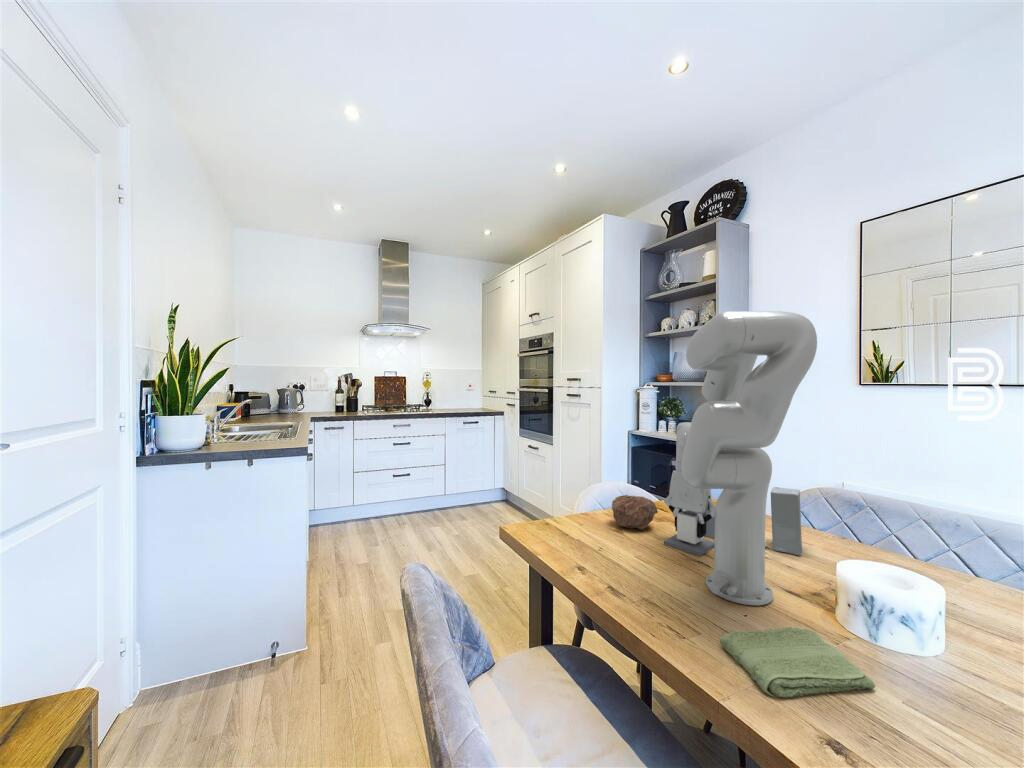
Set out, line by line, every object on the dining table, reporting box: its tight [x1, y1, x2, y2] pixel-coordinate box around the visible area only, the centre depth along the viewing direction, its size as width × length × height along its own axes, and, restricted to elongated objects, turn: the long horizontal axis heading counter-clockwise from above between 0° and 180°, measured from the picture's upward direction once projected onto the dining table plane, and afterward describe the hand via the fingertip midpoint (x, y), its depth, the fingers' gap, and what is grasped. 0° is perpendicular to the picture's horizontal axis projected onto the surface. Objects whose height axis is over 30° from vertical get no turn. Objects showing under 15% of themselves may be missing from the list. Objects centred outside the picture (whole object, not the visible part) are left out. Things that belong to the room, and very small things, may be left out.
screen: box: [704, 510, 715, 540], centre depth 118 cm, size 2×13×8 cm, turn 42°
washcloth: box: [719, 626, 877, 699], centre depth 65 cm, size 13×18×3 cm
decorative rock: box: [611, 494, 659, 531], centre depth 126 cm, size 13×11×10 cm
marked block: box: [676, 510, 704, 544], centre depth 112 cm, size 5×5×7 cm
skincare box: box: [770, 486, 803, 557], centre depth 111 cm, size 8×7×16 cm
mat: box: [663, 533, 715, 557], centre depth 112 cm, size 10×10×1 cm
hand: (690, 532), depth 112 cm, fingers open, 5 cm apart
